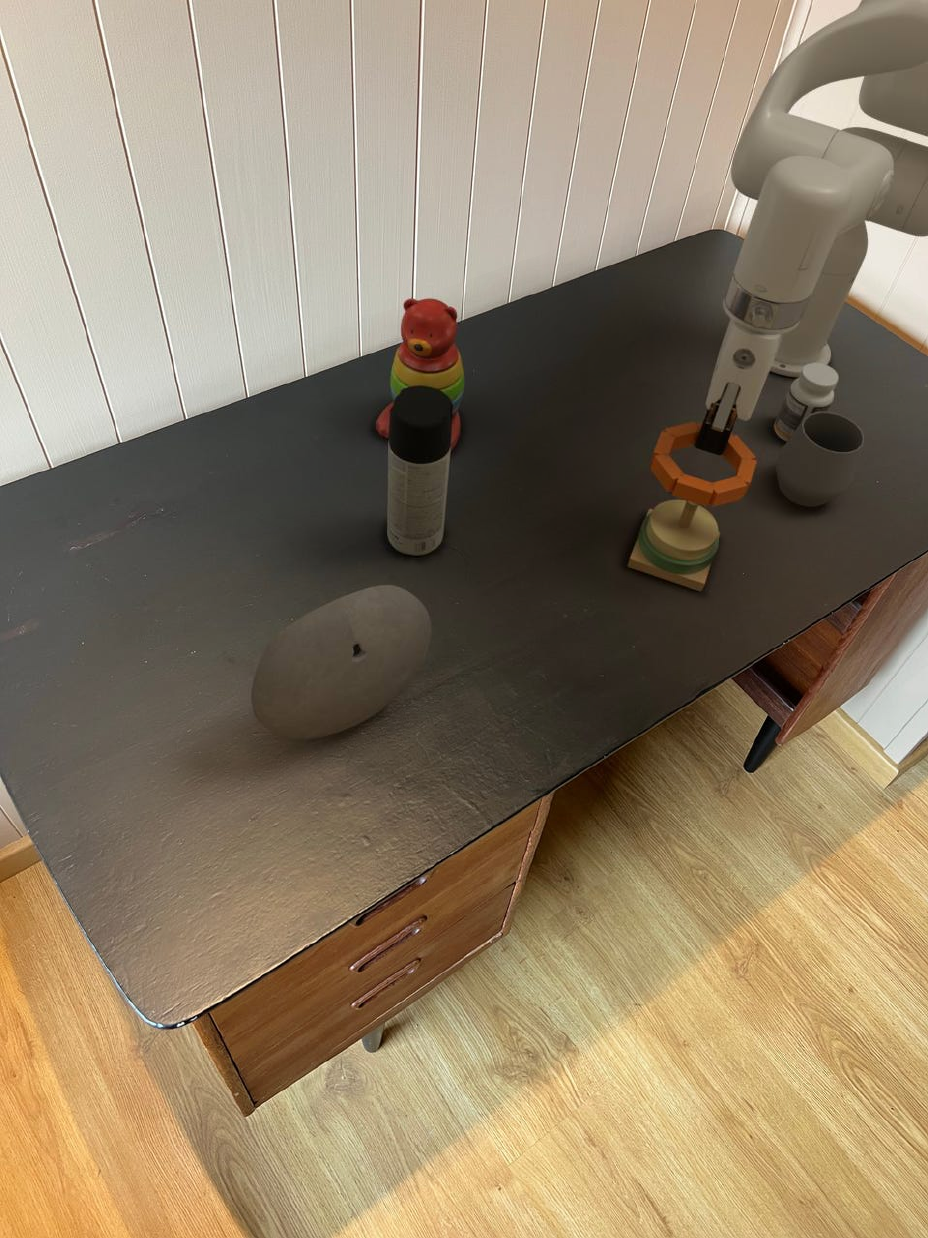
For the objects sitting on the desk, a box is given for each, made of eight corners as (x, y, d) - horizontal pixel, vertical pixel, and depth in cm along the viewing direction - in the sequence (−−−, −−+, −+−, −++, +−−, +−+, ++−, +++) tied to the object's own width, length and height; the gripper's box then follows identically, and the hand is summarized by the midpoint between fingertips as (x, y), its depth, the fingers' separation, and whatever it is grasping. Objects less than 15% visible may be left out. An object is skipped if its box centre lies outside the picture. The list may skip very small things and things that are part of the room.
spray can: (451, 525, 110) (463, 392, 94) (431, 565, 106) (440, 433, 90) (399, 509, 110) (403, 375, 95) (378, 548, 106) (378, 414, 91)
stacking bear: (370, 433, 118) (369, 314, 104) (402, 389, 124) (405, 270, 110) (446, 459, 116) (456, 342, 102) (476, 413, 122) (488, 295, 108)
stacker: (645, 516, 113) (663, 462, 106) (718, 539, 111) (741, 486, 104) (626, 567, 108) (643, 514, 100) (701, 592, 106) (725, 541, 99)
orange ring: (665, 426, 103) (669, 412, 102) (756, 455, 101) (762, 441, 100) (641, 485, 97) (645, 471, 95) (738, 517, 95) (744, 503, 94)
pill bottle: (811, 421, 126) (839, 362, 119) (816, 449, 123) (846, 390, 115) (770, 416, 127) (796, 356, 119) (774, 444, 123) (801, 384, 115)
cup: (854, 498, 118) (888, 440, 110) (807, 528, 114) (839, 469, 106) (797, 456, 122) (827, 396, 114) (751, 483, 118) (778, 423, 110)
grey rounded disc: (408, 655, 98) (413, 537, 83) (443, 704, 94) (455, 590, 79) (248, 731, 91) (222, 617, 76) (279, 787, 87) (259, 679, 72)
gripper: (792, 354, 82) (729, 499, 96) (817, 268, 91) (756, 412, 106) (711, 330, 83) (661, 477, 98) (743, 247, 92) (693, 393, 107)
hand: (710, 443), depth 102 cm, fingers closed on orange ring, 1 cm apart
